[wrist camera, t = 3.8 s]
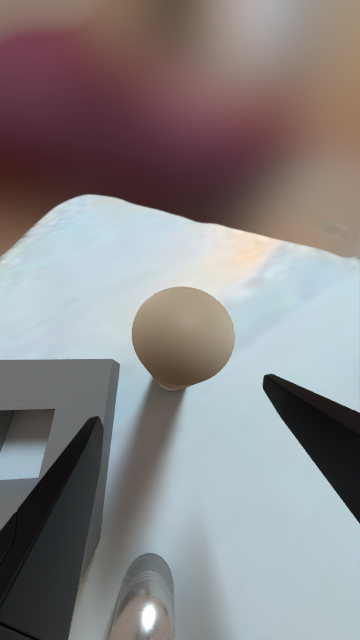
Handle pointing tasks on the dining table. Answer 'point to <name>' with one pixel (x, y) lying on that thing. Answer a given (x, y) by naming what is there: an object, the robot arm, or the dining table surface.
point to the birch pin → (182, 337)
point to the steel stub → (145, 602)
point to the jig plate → (59, 420)
